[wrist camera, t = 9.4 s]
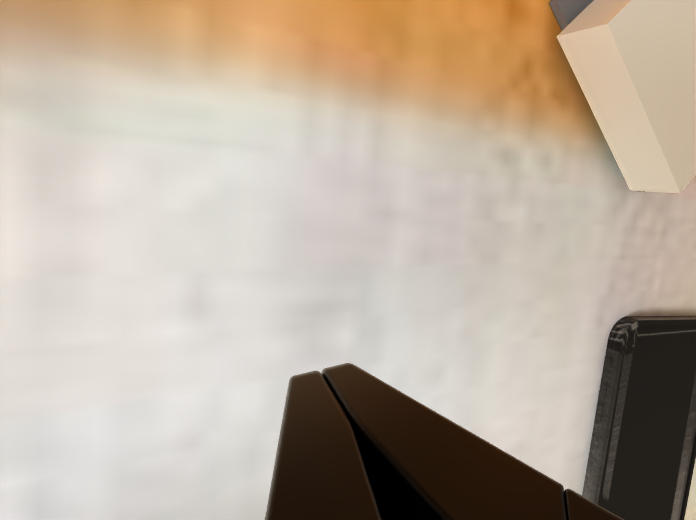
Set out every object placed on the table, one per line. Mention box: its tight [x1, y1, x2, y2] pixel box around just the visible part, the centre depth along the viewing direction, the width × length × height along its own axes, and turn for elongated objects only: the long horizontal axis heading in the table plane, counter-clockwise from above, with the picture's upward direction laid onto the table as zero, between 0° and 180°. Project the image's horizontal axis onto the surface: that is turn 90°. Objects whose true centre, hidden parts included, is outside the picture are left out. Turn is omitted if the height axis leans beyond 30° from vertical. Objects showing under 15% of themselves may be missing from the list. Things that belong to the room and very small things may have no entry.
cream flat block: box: [556, 0, 696, 193], centre depth 25 cm, size 3×8×10 cm
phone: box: [582, 316, 696, 520], centre depth 30 cm, size 8×1×15 cm
